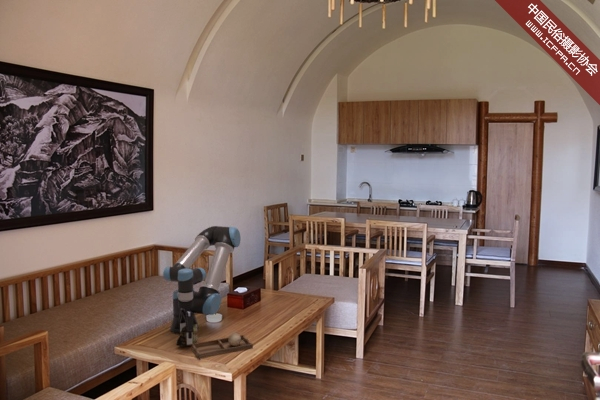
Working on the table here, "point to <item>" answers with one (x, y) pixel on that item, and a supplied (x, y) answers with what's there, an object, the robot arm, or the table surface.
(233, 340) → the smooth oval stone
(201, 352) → the holder
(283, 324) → the table surface
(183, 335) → the seashell
